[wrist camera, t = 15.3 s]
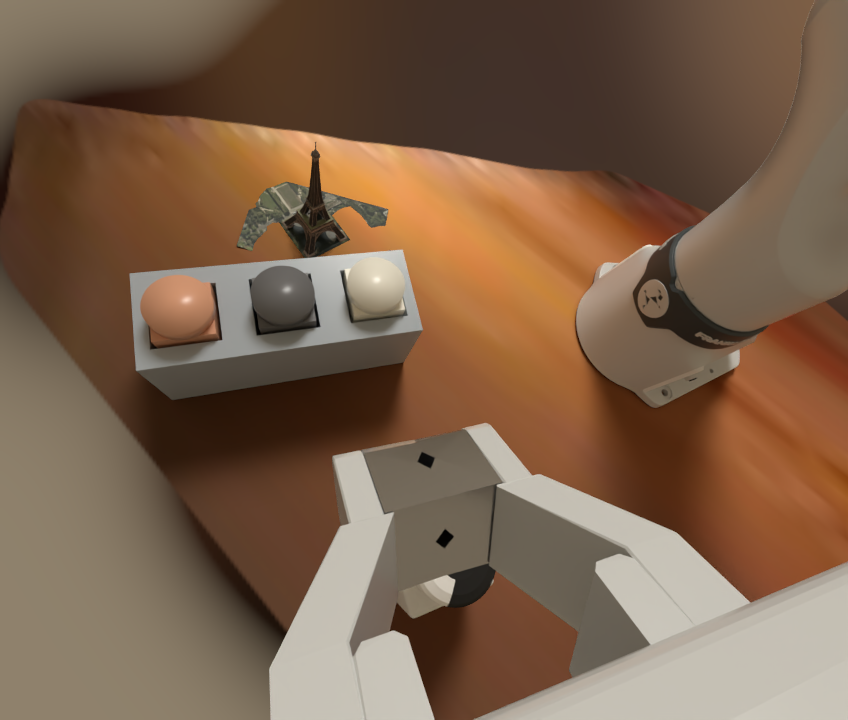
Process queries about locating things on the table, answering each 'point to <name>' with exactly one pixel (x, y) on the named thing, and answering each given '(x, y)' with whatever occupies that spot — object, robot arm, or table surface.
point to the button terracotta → (181, 311)
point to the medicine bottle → (447, 591)
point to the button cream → (374, 290)
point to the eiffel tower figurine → (305, 215)
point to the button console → (279, 352)
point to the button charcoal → (283, 300)
